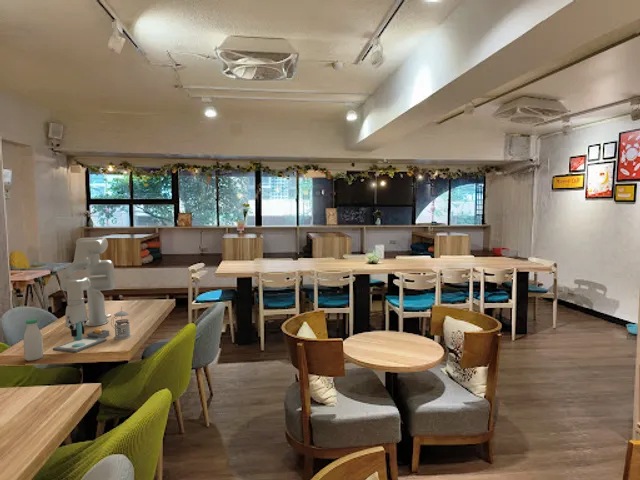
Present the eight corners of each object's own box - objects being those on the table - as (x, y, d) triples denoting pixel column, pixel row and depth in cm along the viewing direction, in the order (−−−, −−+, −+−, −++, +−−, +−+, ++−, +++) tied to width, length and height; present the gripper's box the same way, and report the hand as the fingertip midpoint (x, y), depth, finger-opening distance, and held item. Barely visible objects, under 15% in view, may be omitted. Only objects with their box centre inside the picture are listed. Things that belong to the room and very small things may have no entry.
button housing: (98, 334, 244) (98, 329, 243) (109, 335, 241) (109, 330, 241) (87, 338, 236) (87, 333, 236) (98, 339, 234) (98, 334, 233)
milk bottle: (47, 356, 208) (44, 318, 206) (32, 361, 201) (29, 322, 199) (36, 354, 211) (33, 317, 209) (21, 360, 203) (18, 321, 202)
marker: (78, 338, 223) (77, 317, 222) (84, 338, 222) (83, 317, 221) (71, 340, 219) (70, 319, 218) (77, 341, 218) (76, 319, 217)
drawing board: (84, 338, 237) (84, 336, 237) (106, 340, 232) (106, 338, 232) (53, 349, 218) (53, 347, 218) (76, 352, 213) (75, 350, 213)
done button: (98, 333, 241) (98, 328, 241) (103, 333, 240) (103, 328, 240) (93, 335, 237) (92, 330, 237) (98, 335, 236) (98, 330, 236)
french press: (124, 340, 233) (122, 297, 230) (106, 338, 235) (104, 296, 233) (135, 334, 242) (133, 293, 240) (118, 333, 244) (116, 293, 242)
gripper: (83, 298, 228) (85, 330, 230) (56, 305, 212) (58, 339, 214) (94, 299, 226) (96, 331, 227) (67, 306, 210) (69, 340, 211)
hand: (77, 334), depth 221 cm, fingers closed on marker, 4 cm apart
